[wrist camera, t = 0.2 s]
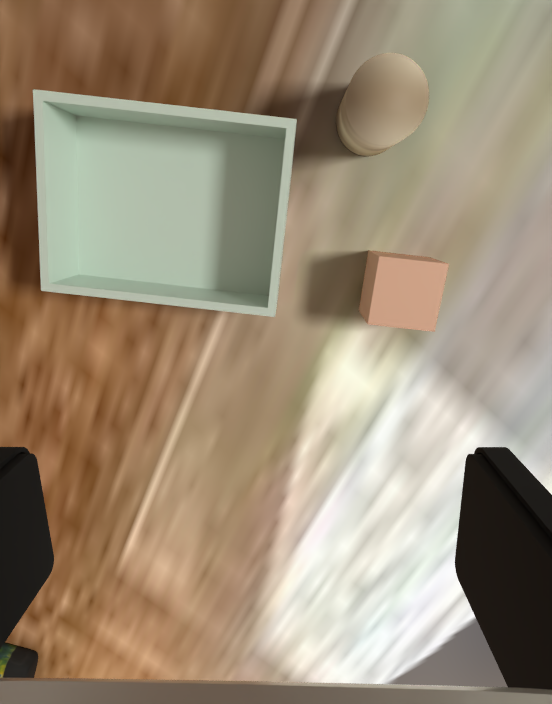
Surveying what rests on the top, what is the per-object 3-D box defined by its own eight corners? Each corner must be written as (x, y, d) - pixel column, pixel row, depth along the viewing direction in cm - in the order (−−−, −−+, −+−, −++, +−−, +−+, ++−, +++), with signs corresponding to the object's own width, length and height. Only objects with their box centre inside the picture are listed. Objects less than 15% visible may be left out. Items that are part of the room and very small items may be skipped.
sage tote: (71, 107, 36) (33, 89, 30) (295, 132, 36) (296, 119, 30) (74, 279, 40) (41, 290, 34) (277, 302, 40) (275, 316, 34)
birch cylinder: (341, 79, 35) (353, 48, 28) (408, 87, 35) (436, 57, 28) (331, 152, 36) (340, 139, 29) (396, 159, 36) (420, 148, 29)
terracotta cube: (368, 250, 38) (379, 256, 33) (429, 257, 38) (449, 263, 33) (358, 310, 40) (367, 324, 35) (417, 316, 40) (434, 331, 35)
